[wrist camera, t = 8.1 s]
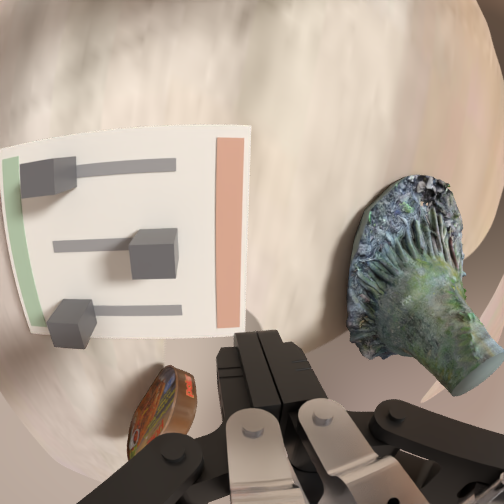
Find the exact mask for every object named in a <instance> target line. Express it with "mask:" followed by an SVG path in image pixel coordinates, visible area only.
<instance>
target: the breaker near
mask: <svg viewBox="0 0 504 504" xmlns="http://www.w3.org/2000/svg"><path fill="white" fill-rule="evenodd" d="M20 185H21V198H22V199H24V198H31V197H40V196H48V195H56V194H59V193H61V192H64V191H67V190H70V189H72V188H75V187H77V174H76V156H73V157H62V158H52V159H46V160H40V161H34V162H29V163H23V164H20Z"/></svg>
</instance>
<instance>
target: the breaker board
mask: <svg viewBox="0 0 504 504" xmlns="http://www.w3.org/2000/svg"><path fill="white" fill-rule="evenodd" d="M250 147H251V125H220V124H191V125H160V126H143V127H130V128H118V129H109V130H100V131H92V132H84V133H77V134H71V135H64V136H58V137H53V138H47V139H42V140H37V141H32V142H27V143H23V144H18V145H14V146H10V147H6V148H2V149H0V191H1V202H2V211H3V219H4V227H5V233H6V239H7V245H8V250H9V256H10V260H11V265H12V270H13V274H14V278H15V282H16V286H17V290H18V293H19V297H20V301H21V304H22V307H23V311H24V314H25V317H26V320H27V323H28V326H29V329H30V332H31V333H32V334H43V335H50V333H49V330H48V327H47V323H46V322H47V320H48V319H49V318H50V316H51V315H52V313H53V312H54V311H55V309H56V308H57V307H58V305H59V304H60V303H61V301H62V300H63V299H92V302H93V307H94V311H95V315H96V320H97V325H96V327H95V329H94V331H93V333H92V335H91V337H90V338H124V339H168V338H201V337H223V336H234V333H239V332H245V312H246V276H247V242H248V209H249V177H250ZM73 156H76V174H77V187H75V188H72V189H70V190H67V191H64V192H61V193H59V194H56V195H48V196H40V197H31V198H24V199H22V198H21V185H20V164H23V163H29V162H34V161H40V160H46V159H52V158H62V157H73ZM161 228H178V249H179V261H178V268H177V275H176V279H138V280H132V273H131V264H130V255H129V244H130V242H131V241H132V239H133V238H134V236H135V235H136V234H137V232H138V231H139V229H161Z"/></svg>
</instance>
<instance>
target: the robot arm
mask: <svg viewBox="0 0 504 504" xmlns="http://www.w3.org/2000/svg"><path fill="white" fill-rule="evenodd" d="M216 362H217V384H218V394H219V401H220V407H221V414H222V421H223V422H222V424H221V425H220V427H219V428H218V429H217V430H215V431H214V432H212V433H210V434H208V435H205V436H202V437H199V438H196V439H193V438H192V437H190V436H188V435H185V434H182V433H165V434H162V435H159V436H157V437H155V438H154V439H153V440H152V441H151V442H149V443H148V444H147V445H146V446H145V447H144V448H143V449H142V450H140V451H139V452H138V453H137V454H136V455H135V456H134V457H133V458H131V459H130V460H129V461H128V462H127V463H126V464H124V465H123V466H122V467H121V468H120V469H119V470H117V471H116V472H115V473H114V474H113V475H112V476H110V477H109V478H108V479H107V480H106V481H104V482H103V483H102V484H101V485H99V486H98V487H97V488H96V489H94V490H93V491H92V492H91V493H89V494H88V495H87V496H86V497H84V498H83V499H82V500H81V501H79V502H78V503H77V504H208V502H211V501H214V500H216V499H219V498H222V497H225V496H227V495H230V502H231V504H504V435H503V434H499V433H496V432H492V431H489V430H486V429H482V428H479V427H476V426H472V425H469V424H466V423H463V422H460V421H457V420H454V419H451V418H448V417H445V416H442V415H440V414H436V413H434V412H431V411H428V410H426V409H423V408H420V407H417V406H415V405H412V404H410V403H407V402H404V401H401V400H396V399H391V400H386V401H383V402H381V403H380V404H379V405H378V406H377V407H376V409H375V411H374V412H351V411H346V410H345V409H344V408H343V406H341V405H340V404H339V403H337V402H335V401H333V400H330V399H328V398H327V396H326V394H325V392H324V390H323V388H322V386H321V384H320V382H319V381H318V379H317V377H316V375H315V373H314V371H313V369H311V366H310V364H309V362H308V361H307V358H306V356H305V354H304V353H303V351H302V349H301V348H299V347H298V346H297V345H295V344H294V343H293V342H285V343H283V342H282V339H281V337H280V335H279V333H278V331H277V330H266V331H256V332H239V333H234V347H224V348H221V349H220V351H219V353H218V355H217V357H216ZM285 448H286V451H287V454H288V457H287V455H286V451H285ZM400 449H402V450H404V451H407V452H409V453H412V454H415V455H418V456H420V457H423V458H426V459H428V460H425V459H422V458H419V457H416V456H413V455H411V454H408V453H405V452H403V451H400ZM292 479H293V480H292ZM293 482H294V483H293Z"/></svg>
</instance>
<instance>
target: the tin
mask: <svg viewBox="0 0 504 504" xmlns="http://www.w3.org/2000/svg"><path fill="white" fill-rule="evenodd" d="M196 407H197V395H196V385H195V381H194V377H193V375H191V374H190V373H187V372H185V371H183V370H180V369H177V368H175V367H174V366H172V365H168V366H166V367H164V368H163V369H162V371H161V372H160V373H159V375H158V376H157V378H156V379H155V381H154V382H153V384H152V385H151V387H150V389H149V390H148V392H147V393H146V395H145V397H144V398H143V400H142V401H141V403H140V404H139V406H138V408H137V409H136V411H135V413H134V416H133V418H132V421H131V425H130V429H129V434H128V441H127V457H128V461H129V460H130V459H131V458H133V457H134V456H135V455H136V454H137V453H138V452H139V451H140V450H142V449H143V448H144V447H145V446H146V445H147V444H148V443H149V442H151V441H152V440H153V439H154V438H155V437H157V436H159V435H162V434H165V433H182V434H185V435H186V434H187V433H188V431H189V429H190V427H191V425H192V423H193V420H194V417H195V413H196Z"/></svg>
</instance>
